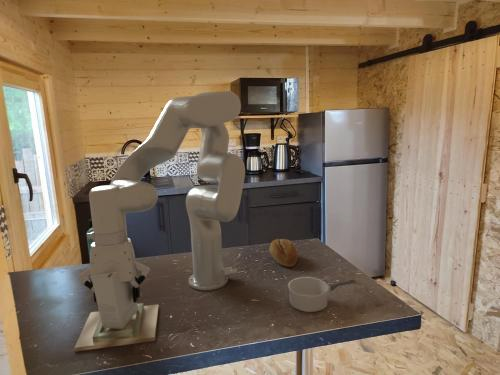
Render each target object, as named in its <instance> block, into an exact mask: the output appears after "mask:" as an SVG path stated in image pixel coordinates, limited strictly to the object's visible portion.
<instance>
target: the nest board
mask: <svg viewBox="0 0 500 375" xmlns="http://www.w3.org/2000/svg"><path fill="white" fill-rule="evenodd" d="M137 305H138V310H137V311H136V313H135V314H134V315H133V317H132V318H131V319H130V320H129V322H128V323H127V324H126V326H125V327H124V328H123V329H116V328H103V327H102V323H101V318H100V314H99V310H98V311H92V312H90V313H89V314H88V317H87V319H86V322H85V324H84V326H83V329H82V331H81V332H80V335H79V337H78V339H77V342H76V344H75V346H74V348H73V349H74V350H73V351H74V352H82V351H89V350H96V349H97V350H98V349H104V348H112V347H118V346H126V345H133V344H140V343H146V342H147V343H148V342H154V341H156V333H157V324H158V317H159V310H160V306H159V304H150V305H145V304H144V302H141V303H137Z"/></svg>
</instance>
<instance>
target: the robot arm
mask: <svg viewBox="0 0 500 375" xmlns="http://www.w3.org/2000/svg"><path fill="white" fill-rule="evenodd" d="M241 109H242V104H241V100H240V97H239V96H238V94H236V93H234V92H233V91H231V90H220V91H219V90H218V91H207V92H200V93H196V94H195V95H190V96H177V97H174V98H171V99H170V100H168V102H167V103H166V104H165V106H164V108H163V110H162V112H161V113H160V115H159V116H158V118H157V120H156V122H155V124H154V125H153V128H152V129H151V131H150V132H149V135H148V136H147V138H146V139H145V141H144V142H142V143H141V144H140V145H139V146H137V147H136V148H135V150H133V151H132V152H131V153H130V154H129V155H128V156H127V157H126V158H125V159H124V160H123V161H122V163H121V164H120V165H119V167H118V168H117V170H116V172H115V173H114V175H113V176H112V179H111V181H110V184H106V185H99V186H95V187H93V188H91V189H90V191H89V193H88V197H89V198H88V200H89V207H90V215H91V219H92V225H93V227H92V228H93V232H92V233H89V234H87V235H86V239H87V238H88V239H93V241H94V242H93V243H92V244H91V250H90V260H89V267H88V268H86V269H85V270H84V271H83V272H81V273H80V274H79V275H78V276H77V277H78V278H77V279H78V280H79V281H80V282H81V283H83V285H84V286H85V287H86V288H88V289H89V290H90V292H91V293H92V294H93V301H94V303H97V300H96V296H95V291H94V287H93V282H92V278H91V276H92V275H97V274H103V273H108V272H115V271H117V272H118V274H119V279H120V282H121V283H123V282H130V283H131V284H132V285H133V287H132V294H133V302H134V303H136V302H137V303H138V298H140V296H141V294H140V293H141V291H140V285H141V284H142V283H143V282H144V281H145V279H146V277H147V276H148V274H149V273H150V272H151V271H150V270H151V268H150V267H149V266H147V265H145V264H143V263H141V262H139V261H136V260H137V259H136V256H135V250H134V246H133V242H132V240H131V238H130V237H128V229H127V228H128V227H127V219H126V217H127V216H126V214H129V213H130V214H131V213H133V214H134V213H142V212H147V211H148V210H151V209H152V208H154V207H155V205H156V203H157V202H158V198H159V193H158V191H157V189H156V187H155V186H153V185H152V184H151V183H149V182H146V181H142V179H143V178H144V176H145V175H146V174H147V173H148V172H150V171H151V169H153V168H154V167H157V166H159V165H161V164H163V163H165V162H168V161H169V160H172V159H173V158H175V156H176V155H177V153H178V151H179V150H180V148H181V145H182V144H183V142H184V140H185V138H186V136H187V134H188V132H189V131H190V129H200V130H201V141H200V147H199V148H200V149H199V153H198V159H197V165H196V175H197V177H198V178H199V180H201V181H203V182H206V183H211V184H218V185H217V186H218V187H215V186H214V187H213V186H207V185H197V186H195V187H192V188H191V189H190V190H189V191H188V193H187V194H186V197H185V207H186V211H187V216H188V219H189V227H190V242H191V258H192V274H191V275H190V276H189V278H188V285H189V286H190V287H191V288H192V289H195V290H199V291H213V290H214V291H215V290H216V289H219V288H222V287H224V286H225V285H226V284H227V283H228V280H229V279H228V278H229V277H230V276H237V275H238V269H237V268H233V267H232V266H228V267H226V266H224V263H223V250H222V249H223V247H222V246H223V244H222V228H221V224H220V222H223V223H224V222H225V223H228V222H230V221H232V220H234V219H235V217H236V216H237V214H238V212H239V208H240V204H241V200H242V194H243V188H244V183H245V176H246V167H245V163H244V161H243V159H242V157H240V156H239V155H238V154H236V153H232V152H231V153H230V152H229V143H230V135H229V130H228V129H227V126H226V125H225V124H226V123H229V122H233V121H234V120H235V119H236V118H238V116H239V115H240V112H241ZM137 270H138V271H140V272H142V273H141V274H140V275H139V276H137V275H136V274H137ZM89 275H90V278H89V277H88V276H89ZM228 276H229V277H228ZM96 306H97V308H98V305H97V304H96Z"/></svg>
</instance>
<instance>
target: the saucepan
mask: <svg viewBox="0 0 500 375" xmlns="http://www.w3.org/2000/svg"><path fill="white" fill-rule="evenodd" d="M355 283H356V280H355V279H354V278H353V279H346V280H342V281H341V280H340V281H337V282H333V283H327V282H326V281H324V280H323V279H320V278H317V277H312V276H299V277H296V278H293V279H291V280H290V281H289V282H288V284H287V287H288V291H289V292H288V296H289V297H288V302H289V304H290V305H291V306H292V307H293V308H295V310H298V311H302V312H306V313H313V312H314V313H315V312H319V311H322V310H324V309H325V308H326V307H327V306H328V296H329V294H328V292H330V291H332V292H333V291H334V290H335V289H336V288H337V287H341V286H345V285H350V284H355Z"/></svg>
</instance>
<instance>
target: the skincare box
mask: <svg viewBox="0 0 500 375" xmlns="http://www.w3.org/2000/svg"><path fill="white" fill-rule="evenodd" d="M91 278H92V282H93V287H94V291H95V296H96V300H97V302H96V306H97V305H98V307H97V308H98V311H99V314H100V318H101V323H102V327H103V328H116V329H123V328H124V327H125V326H126V324H127V323H128V322H129V320H130V319H131V318H132V317H133V315H134V314H135V313H136V311H137V310H138V305H137V304H138V301H137V302H136V303H134V302H133V294H132V287H133V285H132V284H131V283H130V282H123V283H121V282H120V279H119V274H118V272H117V271H115V272H108V273H103V274H97V275H92V276H91V275H90V279H91Z"/></svg>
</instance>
